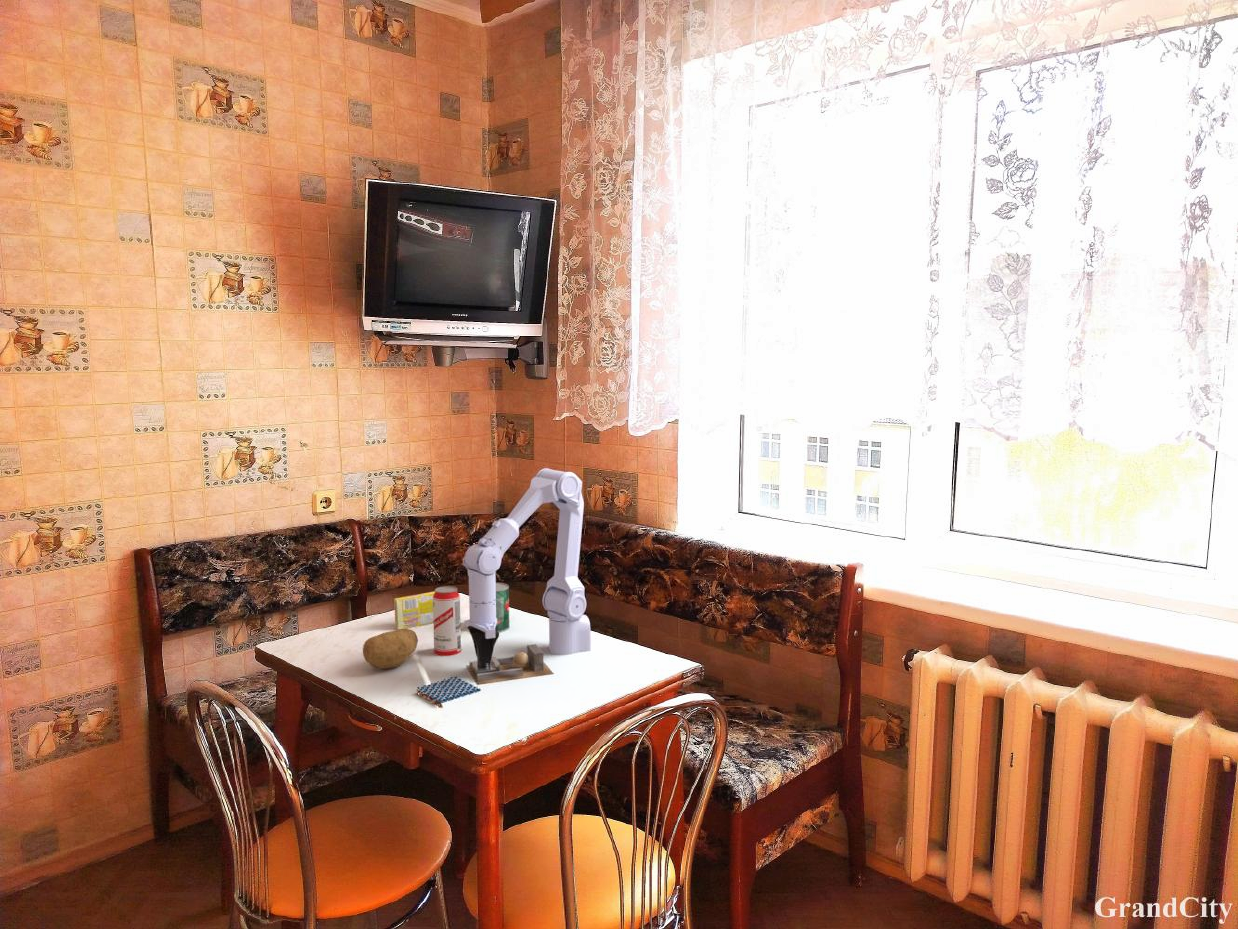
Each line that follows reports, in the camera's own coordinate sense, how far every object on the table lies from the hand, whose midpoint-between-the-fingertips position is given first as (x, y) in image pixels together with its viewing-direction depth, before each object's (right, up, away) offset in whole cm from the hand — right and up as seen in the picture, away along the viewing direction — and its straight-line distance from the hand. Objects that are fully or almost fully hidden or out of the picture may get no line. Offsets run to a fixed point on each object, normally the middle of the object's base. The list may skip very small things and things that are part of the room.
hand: (483, 660), depth 187 cm
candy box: (-21, +1, +38) cm, 44 cm away
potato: (-22, -3, +8) cm, 24 cm away
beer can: (-11, -2, +14) cm, 18 cm away
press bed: (+5, -4, +3) cm, 7 cm away
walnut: (+8, -3, +3) cm, 9 cm away
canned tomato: (-3, 0, +35) cm, 35 cm away
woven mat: (-6, -6, -9) cm, 12 cm away
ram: (0, -3, +1) cm, 3 cm away
